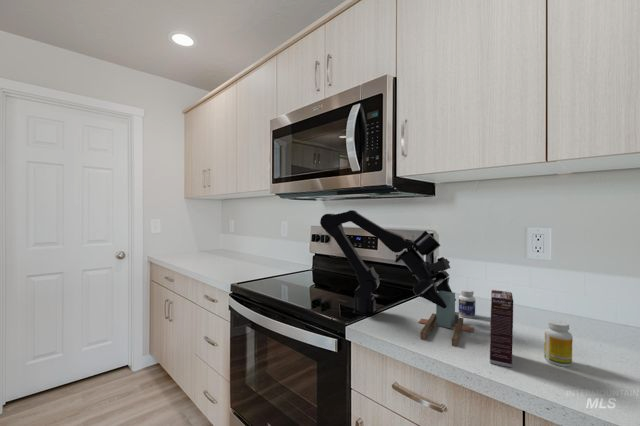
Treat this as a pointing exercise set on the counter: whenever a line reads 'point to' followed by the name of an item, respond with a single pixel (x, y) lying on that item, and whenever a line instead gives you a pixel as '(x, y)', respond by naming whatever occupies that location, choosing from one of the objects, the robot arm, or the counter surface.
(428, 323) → the guide channel
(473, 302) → the pill bottle
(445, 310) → the block
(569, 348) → the supplement bottle
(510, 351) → the supplement box
